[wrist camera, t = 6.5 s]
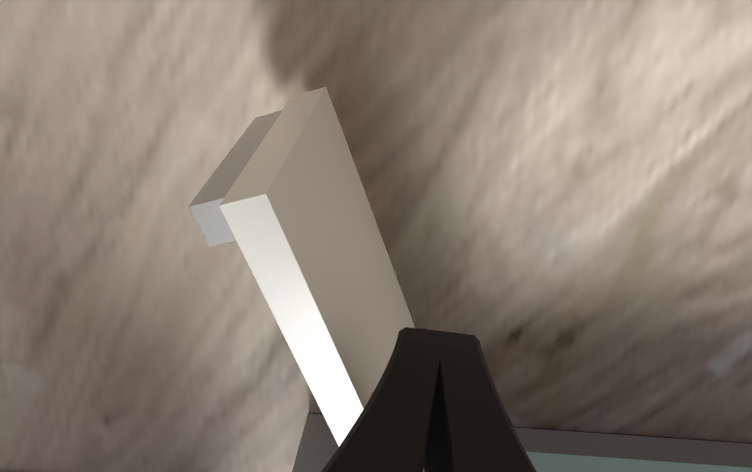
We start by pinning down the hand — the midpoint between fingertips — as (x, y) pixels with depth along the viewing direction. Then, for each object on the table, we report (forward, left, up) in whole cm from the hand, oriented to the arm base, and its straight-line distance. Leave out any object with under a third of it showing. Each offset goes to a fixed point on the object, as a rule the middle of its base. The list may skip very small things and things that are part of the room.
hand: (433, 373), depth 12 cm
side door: (-2, -1, -5) cm, 5 cm away
